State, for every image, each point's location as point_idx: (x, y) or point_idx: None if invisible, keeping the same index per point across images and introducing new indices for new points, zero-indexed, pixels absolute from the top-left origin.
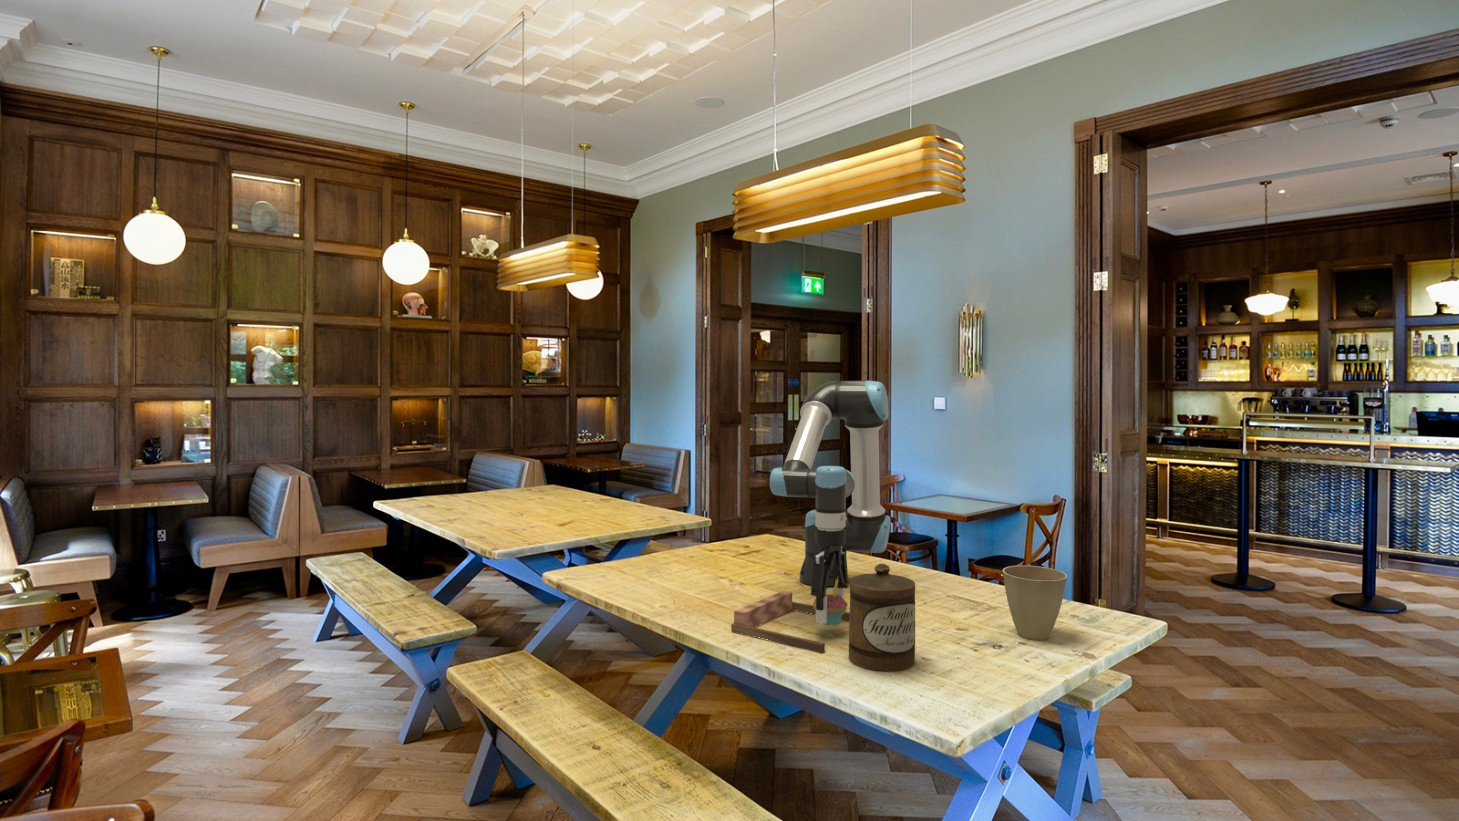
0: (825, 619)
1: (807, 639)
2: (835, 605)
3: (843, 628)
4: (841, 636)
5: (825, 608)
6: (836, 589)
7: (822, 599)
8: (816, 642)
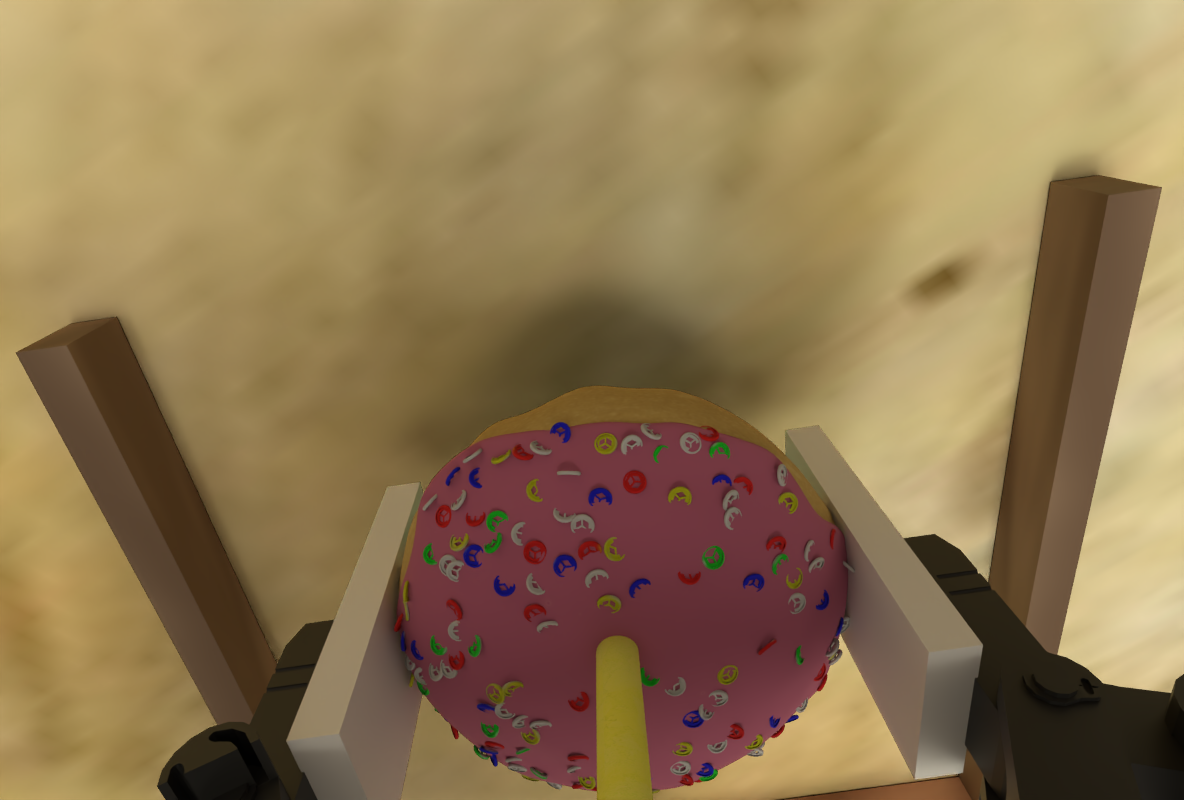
0: (834, 450)
1: (1076, 378)
2: (765, 488)
3: (386, 427)
4: (582, 316)
5: (893, 528)
6: (627, 734)
7: (988, 647)
8: (1123, 269)
